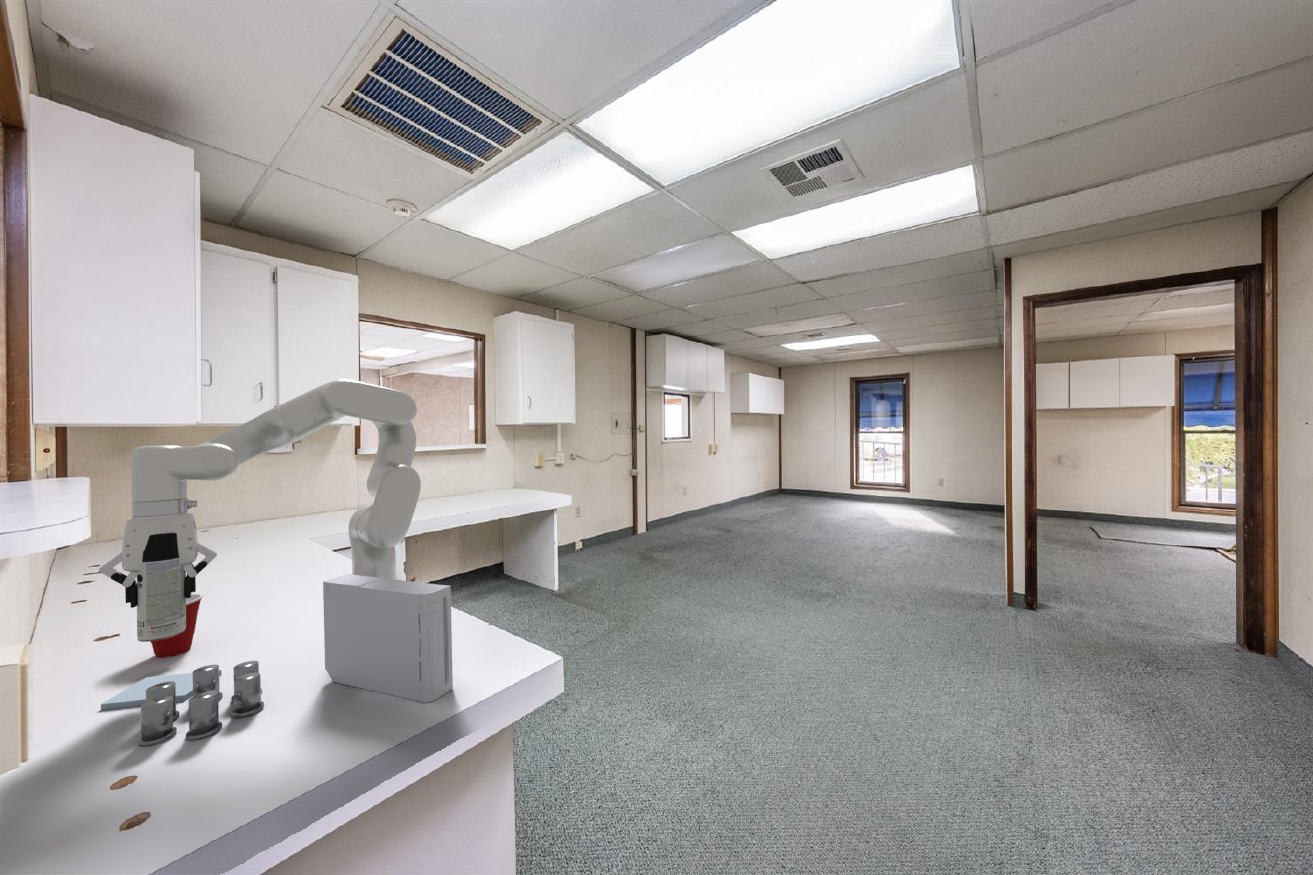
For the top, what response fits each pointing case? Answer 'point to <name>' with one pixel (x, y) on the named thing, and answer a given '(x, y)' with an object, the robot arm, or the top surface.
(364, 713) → the top surface
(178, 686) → the pad
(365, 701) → the top surface
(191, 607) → the plastic cup
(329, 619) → the game console
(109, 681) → the top surface
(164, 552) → the spray can
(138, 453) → the robot arm
